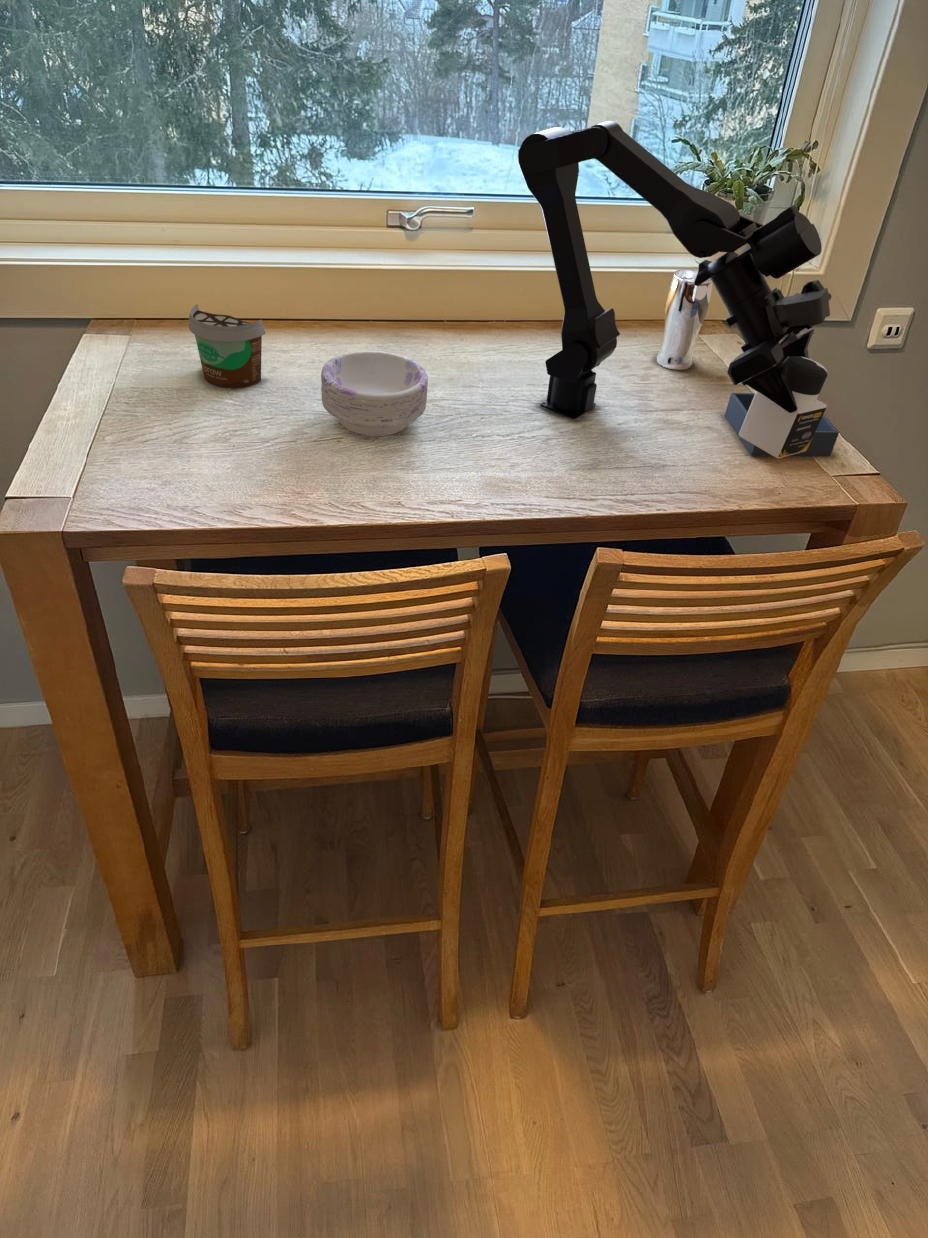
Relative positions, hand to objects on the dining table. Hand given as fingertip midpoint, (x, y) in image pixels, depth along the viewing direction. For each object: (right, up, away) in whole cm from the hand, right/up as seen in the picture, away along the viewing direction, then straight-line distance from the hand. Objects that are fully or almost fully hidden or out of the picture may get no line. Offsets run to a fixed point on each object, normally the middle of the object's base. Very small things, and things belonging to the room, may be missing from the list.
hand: (802, 400), depth 120 cm
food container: (-82, +8, +19) cm, 85 cm away
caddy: (+3, -1, +18) cm, 19 cm away
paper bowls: (-58, 0, +13) cm, 60 cm away
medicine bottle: (-2, -5, +5) cm, 8 cm away
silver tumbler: (-9, +15, +37) cm, 41 cm away
